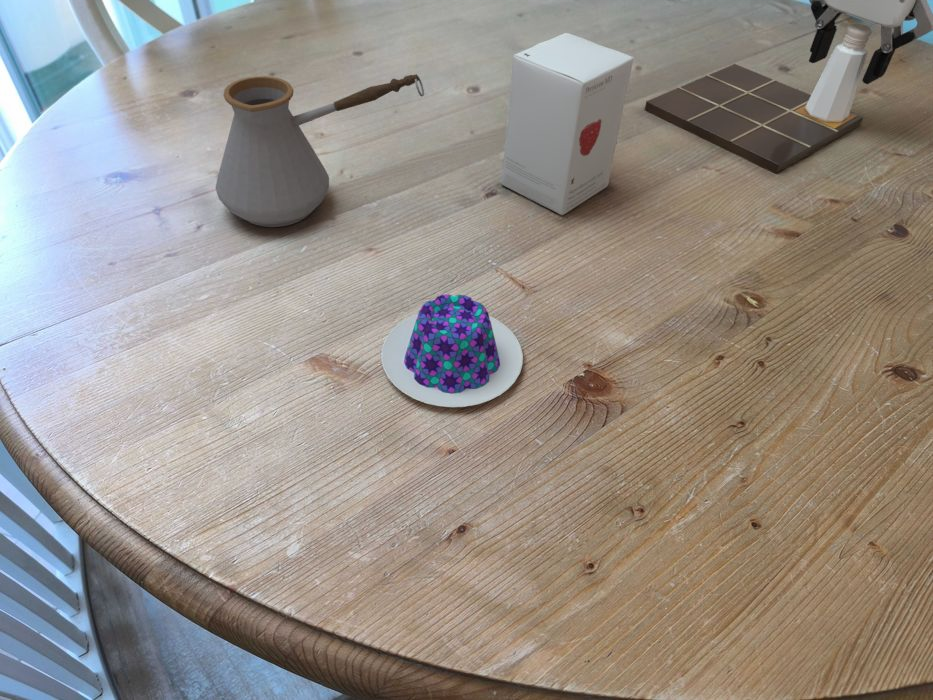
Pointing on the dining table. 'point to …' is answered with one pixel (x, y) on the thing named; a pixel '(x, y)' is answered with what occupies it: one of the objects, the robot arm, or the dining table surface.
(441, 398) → the pudding
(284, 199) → the coffee pot
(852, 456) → the dining table surface
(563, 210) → the rectangular carton
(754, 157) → the board
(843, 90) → the pepper shaker
